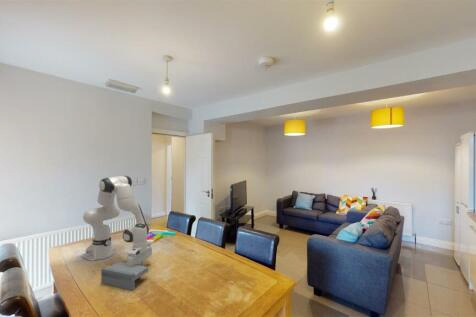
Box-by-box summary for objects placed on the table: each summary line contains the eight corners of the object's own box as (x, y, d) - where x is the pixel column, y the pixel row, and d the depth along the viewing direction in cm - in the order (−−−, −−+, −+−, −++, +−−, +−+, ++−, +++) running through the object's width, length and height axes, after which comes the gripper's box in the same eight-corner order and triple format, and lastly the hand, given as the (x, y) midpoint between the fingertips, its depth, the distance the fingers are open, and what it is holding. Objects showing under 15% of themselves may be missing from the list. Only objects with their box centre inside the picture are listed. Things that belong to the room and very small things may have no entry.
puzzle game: (131, 243, 197) (161, 245, 191) (131, 239, 197) (161, 242, 191) (151, 232, 227) (177, 234, 221) (151, 229, 227) (177, 231, 221)
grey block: (101, 283, 133) (101, 268, 133) (118, 272, 145) (118, 259, 145) (132, 290, 125) (132, 275, 125) (147, 278, 138) (147, 264, 138)
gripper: (147, 241, 159) (147, 260, 159) (125, 253, 139) (125, 274, 139) (154, 242, 157) (154, 261, 157) (132, 254, 137) (132, 276, 137)
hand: (140, 267), depth 148 cm, fingers closed
